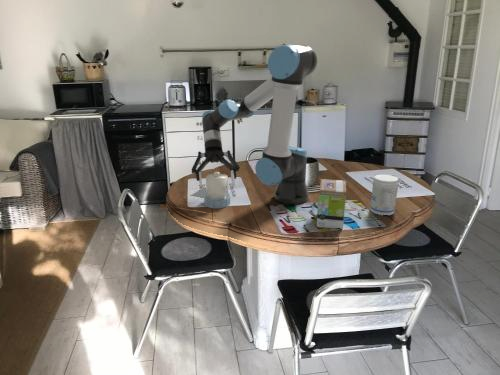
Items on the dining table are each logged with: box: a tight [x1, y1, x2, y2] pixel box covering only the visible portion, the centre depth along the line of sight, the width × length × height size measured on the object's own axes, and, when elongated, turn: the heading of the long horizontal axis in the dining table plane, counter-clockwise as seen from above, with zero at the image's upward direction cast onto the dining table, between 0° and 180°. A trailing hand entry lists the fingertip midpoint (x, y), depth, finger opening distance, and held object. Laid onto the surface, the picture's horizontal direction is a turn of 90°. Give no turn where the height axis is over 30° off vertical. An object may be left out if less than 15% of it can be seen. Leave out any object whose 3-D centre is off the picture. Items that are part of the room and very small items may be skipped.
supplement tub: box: [369, 174, 399, 216], centre depth 167 cm, size 10×10×15 cm
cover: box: [205, 171, 229, 200], centre depth 174 cm, size 9×9×11 cm
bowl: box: [203, 194, 231, 209], centre depth 176 cm, size 11×11×4 cm
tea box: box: [316, 178, 347, 230], centre depth 158 cm, size 15×10×15 cm, turn 168°
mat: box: [190, 187, 206, 199], centre depth 189 cm, size 12×12×1 cm
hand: (217, 186), depth 172 cm, fingers open, 13 cm apart
